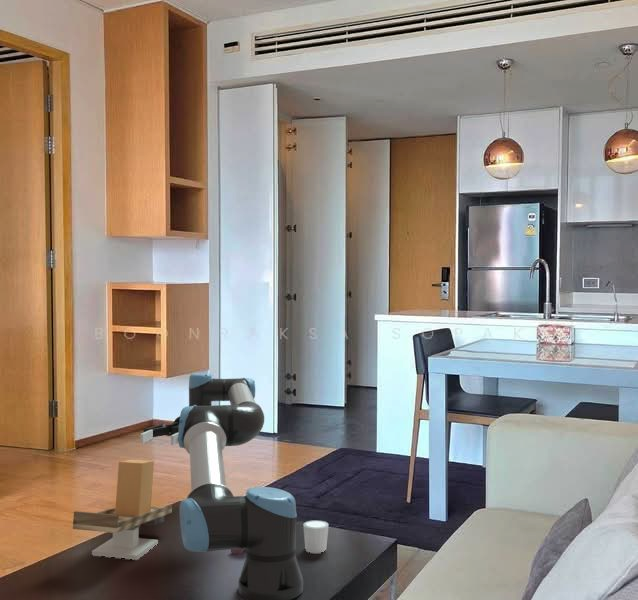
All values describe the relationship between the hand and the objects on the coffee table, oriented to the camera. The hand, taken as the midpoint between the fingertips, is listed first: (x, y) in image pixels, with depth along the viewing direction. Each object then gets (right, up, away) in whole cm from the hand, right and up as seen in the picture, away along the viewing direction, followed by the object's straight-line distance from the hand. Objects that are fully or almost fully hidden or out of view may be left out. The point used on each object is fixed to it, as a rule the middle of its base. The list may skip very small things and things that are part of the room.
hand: (156, 439), depth 212 cm
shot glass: (+47, -27, -16) cm, 56 cm away
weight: (-3, -18, -14) cm, 23 cm away
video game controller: (+28, -27, -16) cm, 42 cm away
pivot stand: (-4, -26, -17) cm, 32 cm away
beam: (-5, -21, -18) cm, 28 cm away
